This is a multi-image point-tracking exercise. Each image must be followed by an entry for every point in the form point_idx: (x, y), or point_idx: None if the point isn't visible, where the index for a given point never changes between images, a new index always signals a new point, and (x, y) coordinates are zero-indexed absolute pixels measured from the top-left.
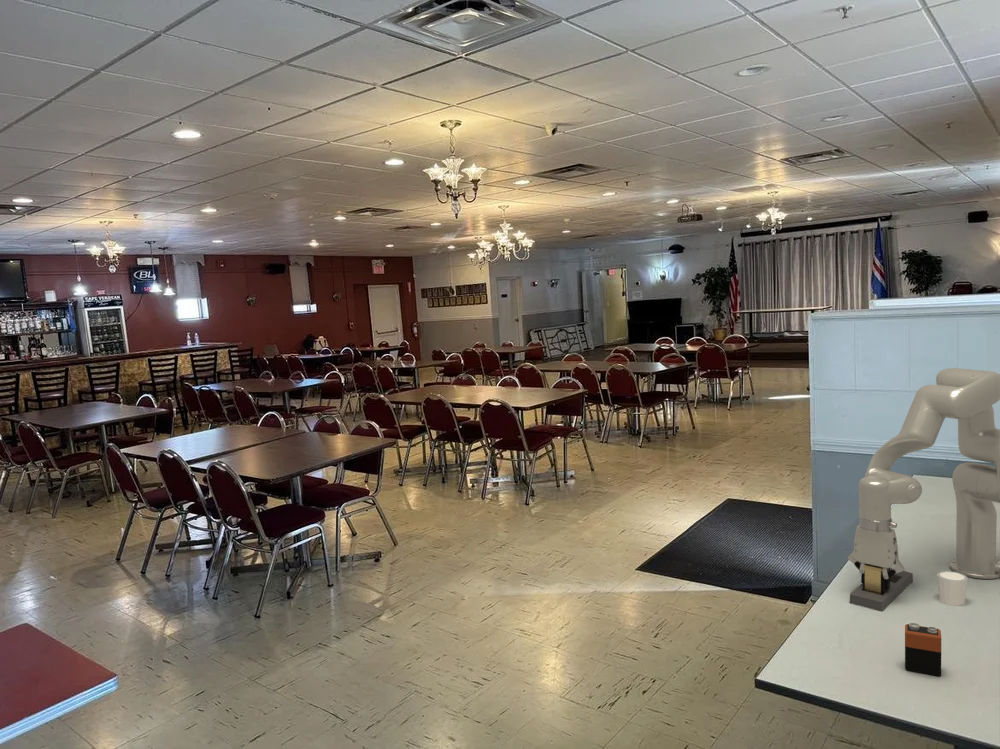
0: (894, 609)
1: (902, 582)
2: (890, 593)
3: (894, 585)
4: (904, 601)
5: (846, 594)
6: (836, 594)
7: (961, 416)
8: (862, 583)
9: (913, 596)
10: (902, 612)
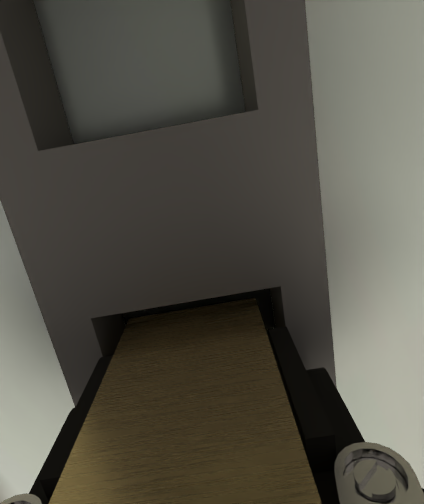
0: (366, 396)
1: (304, 31)
2: (329, 370)
3: (279, 184)
4: (370, 243)
5: (48, 413)
6: (13, 452)
7: None
8: (60, 355)
9: (391, 97)
10: (418, 399)
